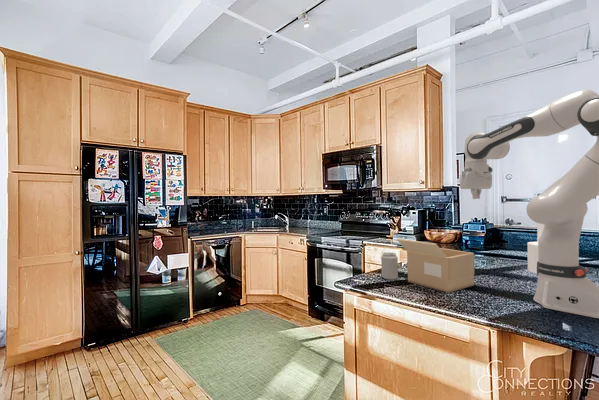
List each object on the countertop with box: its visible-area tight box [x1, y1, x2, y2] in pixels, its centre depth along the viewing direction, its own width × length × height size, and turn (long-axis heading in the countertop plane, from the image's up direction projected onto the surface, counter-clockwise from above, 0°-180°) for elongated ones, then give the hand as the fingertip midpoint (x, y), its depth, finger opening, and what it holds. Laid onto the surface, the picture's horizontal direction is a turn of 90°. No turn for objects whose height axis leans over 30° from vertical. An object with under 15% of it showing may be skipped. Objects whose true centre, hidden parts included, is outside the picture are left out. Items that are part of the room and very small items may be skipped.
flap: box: [396, 238, 447, 257], centre depth 132 cm, size 19×9×1 cm
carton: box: [406, 247, 475, 293], centre depth 138 cm, size 21×19×14 cm
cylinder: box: [526, 223, 544, 275], centre depth 154 cm, size 17×17×28 cm
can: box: [380, 252, 399, 281], centre depth 149 cm, size 8×8×12 cm
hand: (476, 199), depth 143 cm, fingers closed
